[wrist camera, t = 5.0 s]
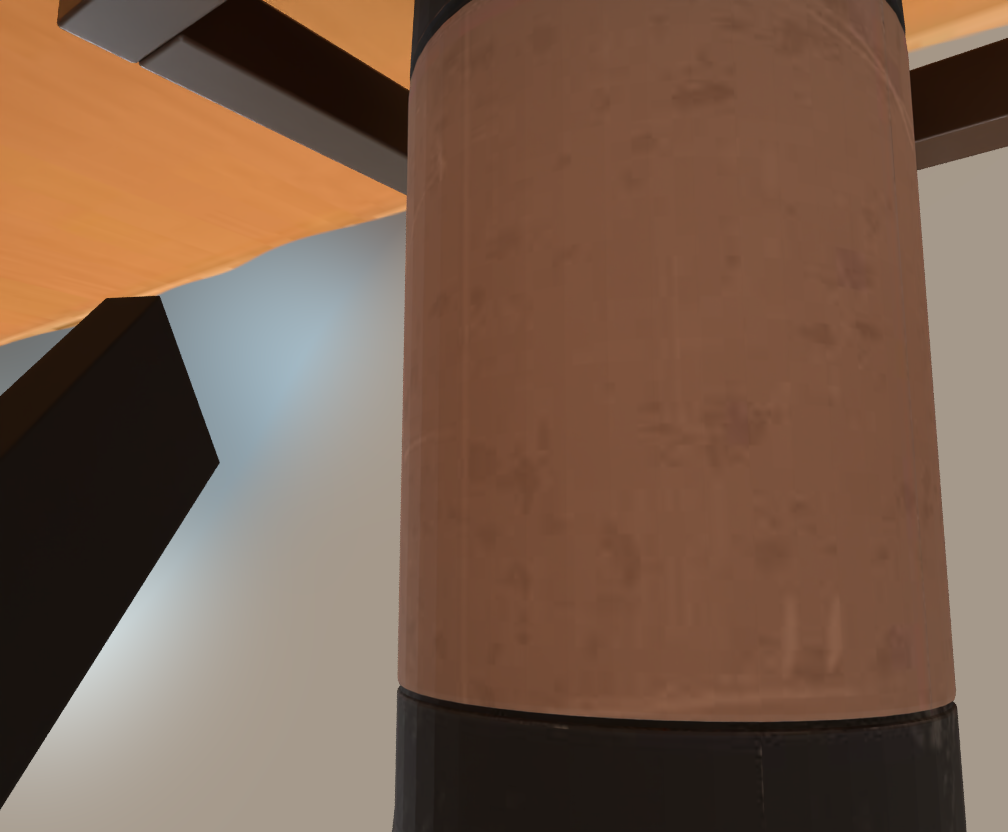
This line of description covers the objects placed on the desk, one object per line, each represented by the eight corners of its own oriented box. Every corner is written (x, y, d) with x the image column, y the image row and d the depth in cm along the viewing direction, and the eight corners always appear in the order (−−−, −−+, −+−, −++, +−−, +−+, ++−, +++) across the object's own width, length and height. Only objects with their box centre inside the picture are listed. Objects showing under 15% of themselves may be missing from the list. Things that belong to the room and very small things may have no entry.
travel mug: (875, -237, 17) (966, 830, 14) (525, -114, 21) (523, 780, 17) (849, -761, 11) (1014, 1073, 7) (333, -457, 14) (259, 913, 10)
